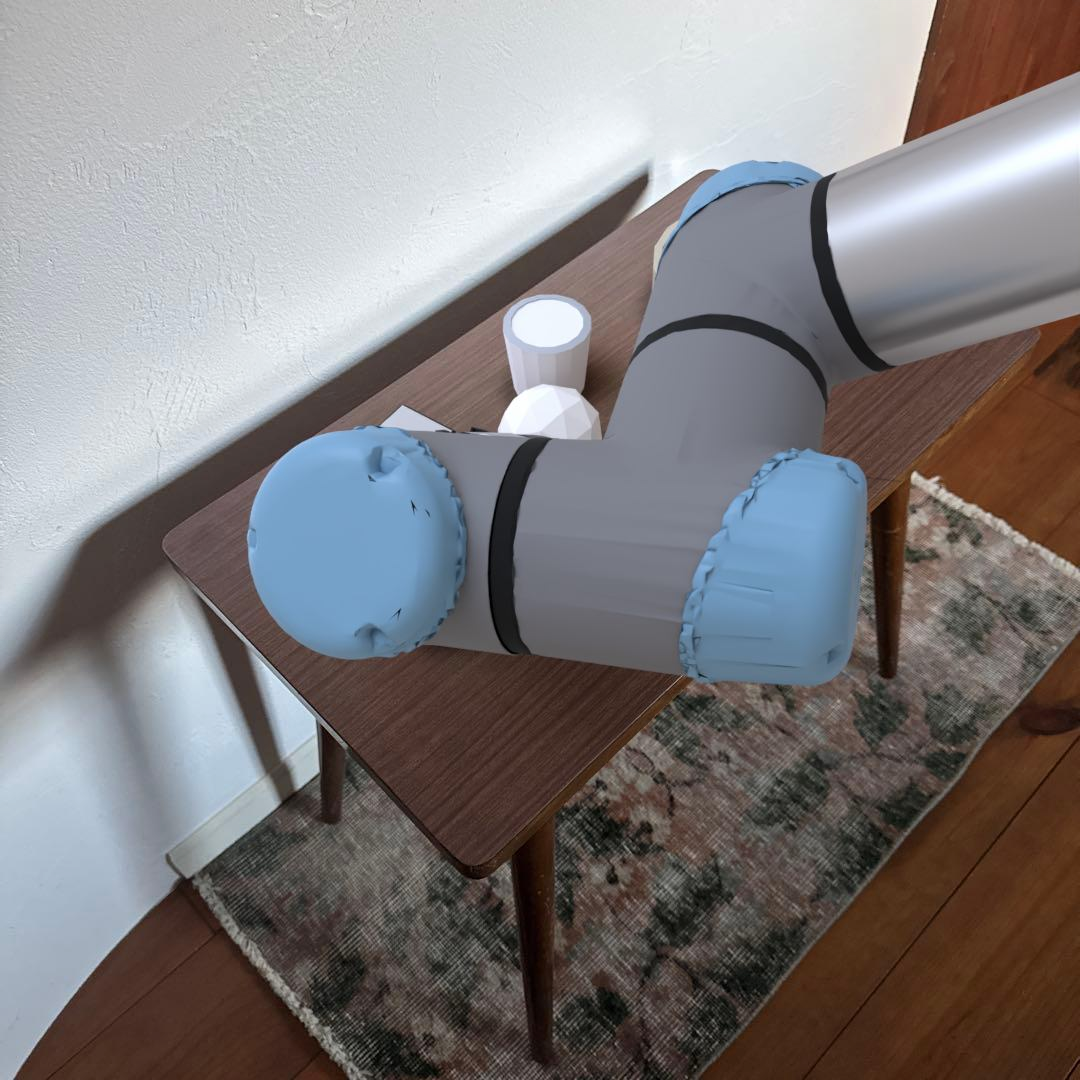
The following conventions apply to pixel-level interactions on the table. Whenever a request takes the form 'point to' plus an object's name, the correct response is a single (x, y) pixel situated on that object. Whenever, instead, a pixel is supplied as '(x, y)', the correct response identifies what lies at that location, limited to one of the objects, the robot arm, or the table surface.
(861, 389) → the table surface
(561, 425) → the geometric ball
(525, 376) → the white cup
